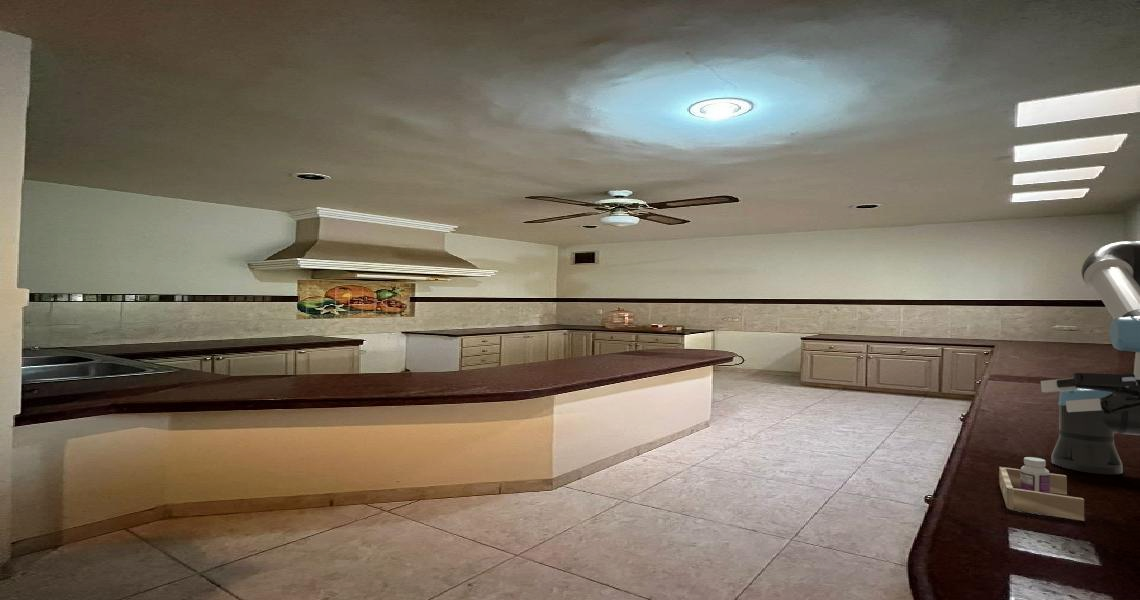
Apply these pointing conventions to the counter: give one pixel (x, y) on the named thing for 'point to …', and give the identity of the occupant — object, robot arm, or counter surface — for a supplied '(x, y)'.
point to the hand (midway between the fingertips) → (1054, 396)
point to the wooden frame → (1040, 496)
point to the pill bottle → (1035, 475)
